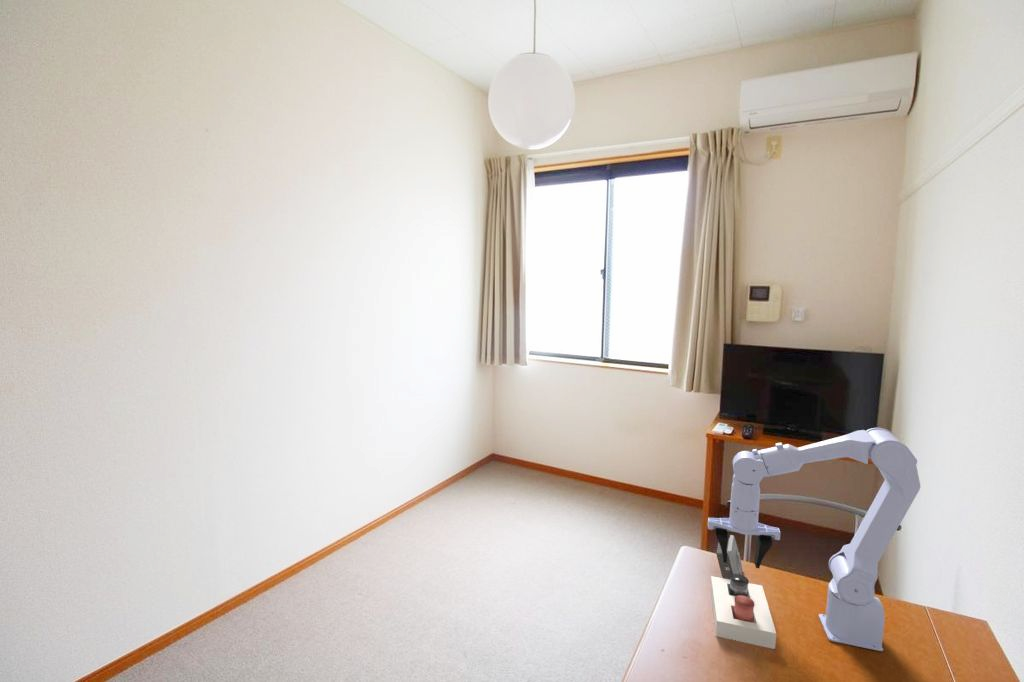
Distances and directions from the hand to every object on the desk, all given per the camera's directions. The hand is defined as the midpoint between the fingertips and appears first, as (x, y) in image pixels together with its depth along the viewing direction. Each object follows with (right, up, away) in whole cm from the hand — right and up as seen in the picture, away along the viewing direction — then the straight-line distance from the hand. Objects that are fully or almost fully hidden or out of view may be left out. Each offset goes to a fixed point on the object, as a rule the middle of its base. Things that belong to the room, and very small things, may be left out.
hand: (740, 562), depth 108 cm
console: (-1, -11, -3) cm, 11 cm away
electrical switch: (+3, -9, +12) cm, 15 cm away
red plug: (-3, -9, -7) cm, 11 cm away
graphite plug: (0, -8, +1) cm, 8 cm away
